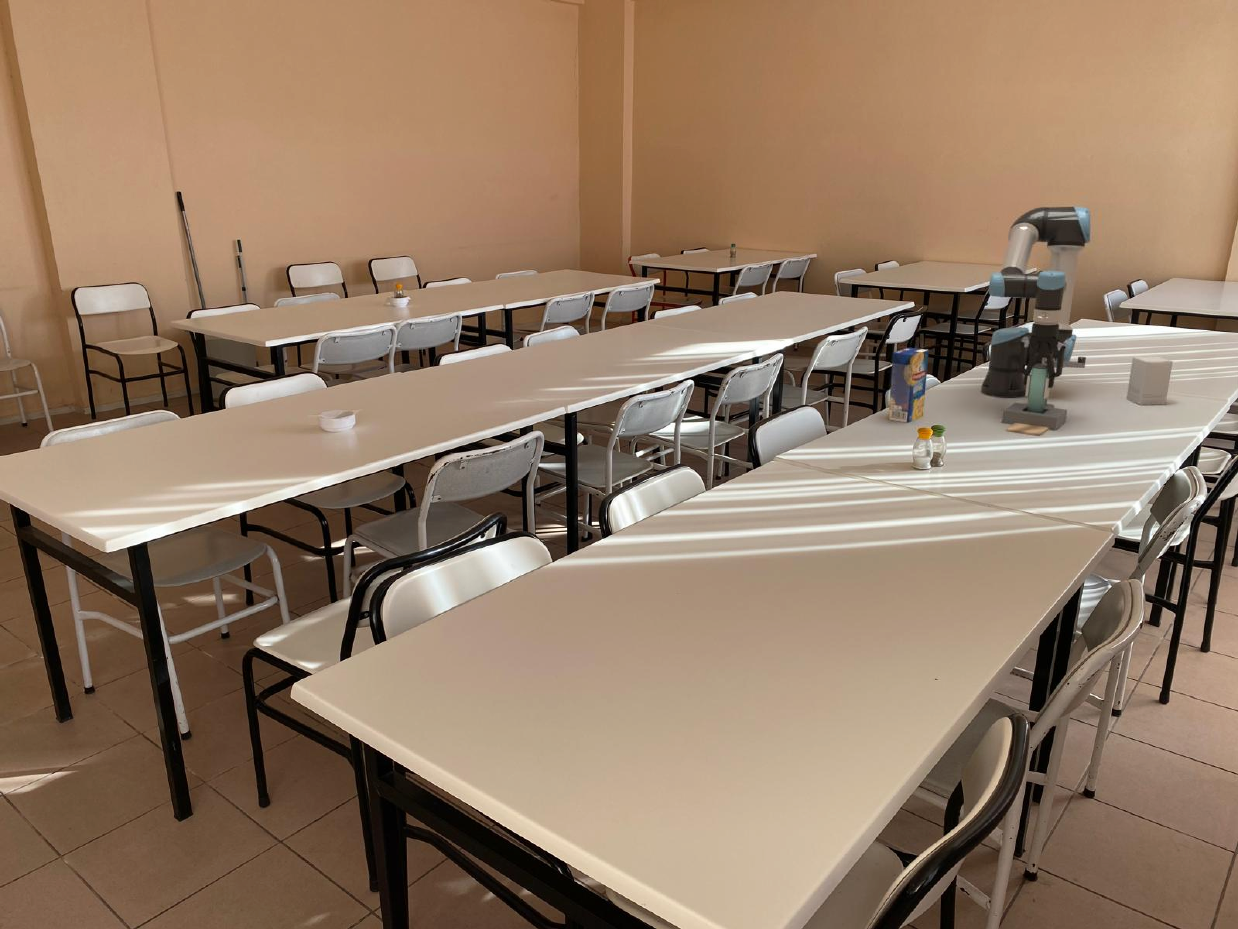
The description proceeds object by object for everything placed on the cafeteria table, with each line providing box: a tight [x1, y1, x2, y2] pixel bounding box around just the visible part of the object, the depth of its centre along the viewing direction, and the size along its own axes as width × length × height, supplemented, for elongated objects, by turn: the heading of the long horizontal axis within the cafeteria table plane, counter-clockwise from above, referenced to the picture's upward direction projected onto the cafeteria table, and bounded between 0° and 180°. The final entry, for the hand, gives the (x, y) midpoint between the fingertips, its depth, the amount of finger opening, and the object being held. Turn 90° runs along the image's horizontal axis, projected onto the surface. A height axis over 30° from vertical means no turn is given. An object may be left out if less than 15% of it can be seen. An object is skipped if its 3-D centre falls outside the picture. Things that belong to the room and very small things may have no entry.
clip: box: [1042, 356, 1087, 369], centre depth 282 cm, size 12×4×3 cm, turn 71°
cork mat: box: [1005, 423, 1049, 437], centre depth 275 cm, size 10×10×1 cm
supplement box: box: [1126, 355, 1173, 406], centre depth 301 cm, size 9×9×15 cm
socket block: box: [1001, 373, 1068, 431], centre depth 282 cm, size 16×16×16 cm
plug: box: [1027, 364, 1048, 414], centre depth 280 cm, size 5×5×16 cm
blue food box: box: [887, 347, 929, 423], centre depth 288 cm, size 7×11×22 cm, turn 137°
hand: (1036, 396), depth 280 cm, fingers closed on plug, 5 cm apart
